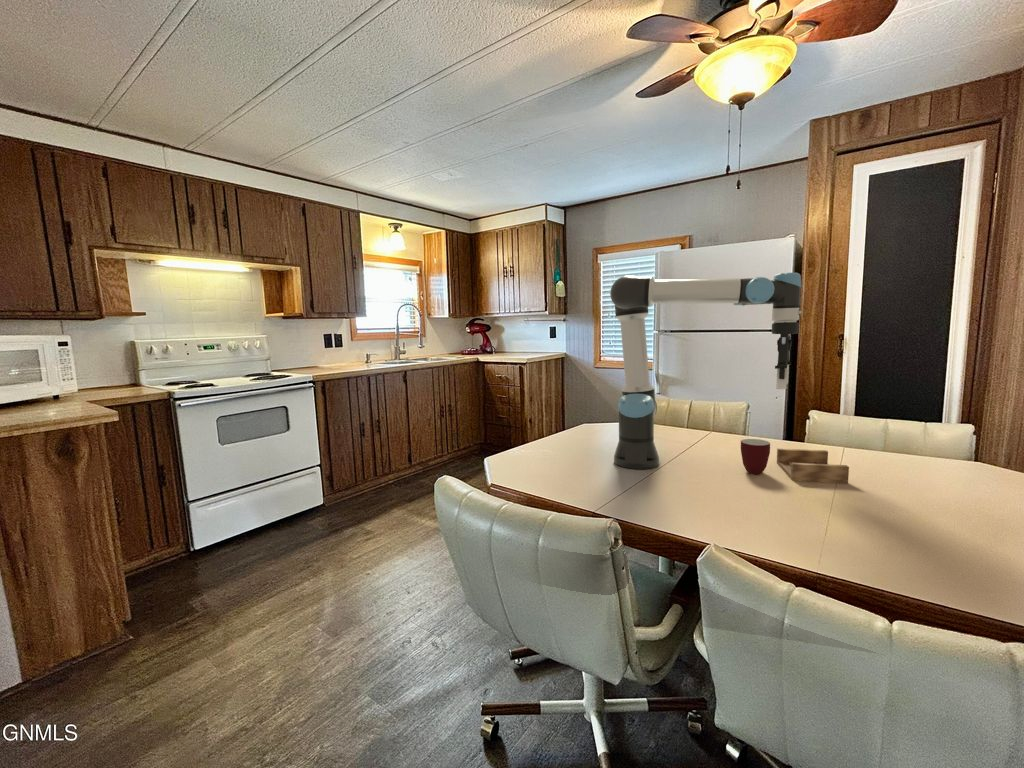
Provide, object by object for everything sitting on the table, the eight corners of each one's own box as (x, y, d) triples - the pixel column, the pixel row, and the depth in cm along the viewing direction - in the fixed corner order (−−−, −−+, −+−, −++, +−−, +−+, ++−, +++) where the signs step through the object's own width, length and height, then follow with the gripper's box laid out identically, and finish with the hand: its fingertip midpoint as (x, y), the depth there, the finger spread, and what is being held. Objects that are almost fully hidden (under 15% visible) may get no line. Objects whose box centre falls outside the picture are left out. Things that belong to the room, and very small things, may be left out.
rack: (792, 480, 130) (793, 464, 129) (776, 463, 146) (777, 448, 146) (848, 483, 126) (849, 466, 125) (825, 465, 142) (826, 450, 141)
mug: (736, 465, 145) (737, 436, 144) (764, 467, 143) (765, 437, 141) (742, 476, 135) (743, 444, 134) (772, 478, 133) (773, 446, 131)
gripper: (798, 321, 130) (794, 392, 133) (799, 320, 150) (796, 382, 153) (769, 322, 134) (766, 390, 137) (774, 321, 155) (771, 381, 157)
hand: (782, 386), depth 145 cm, fingers open, 13 cm apart
